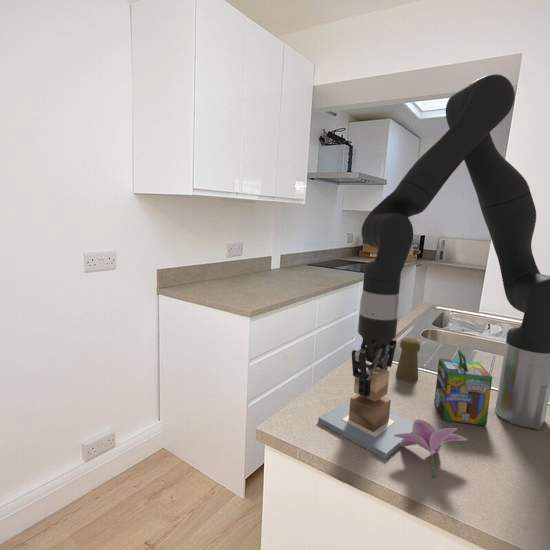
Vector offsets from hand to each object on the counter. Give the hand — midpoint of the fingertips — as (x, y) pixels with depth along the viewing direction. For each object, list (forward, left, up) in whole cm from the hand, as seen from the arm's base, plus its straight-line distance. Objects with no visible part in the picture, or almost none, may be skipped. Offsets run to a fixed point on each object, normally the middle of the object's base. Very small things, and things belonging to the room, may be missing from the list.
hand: (371, 390), depth 77 cm
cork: (+6, -30, -8) cm, 32 cm away
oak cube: (0, 0, 0) cm, 0 cm away
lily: (-14, +2, -8) cm, 16 cm away
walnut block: (0, 0, -7) cm, 7 cm away
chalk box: (-11, -21, -8) cm, 25 cm away
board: (0, 0, -8) cm, 8 cm away
